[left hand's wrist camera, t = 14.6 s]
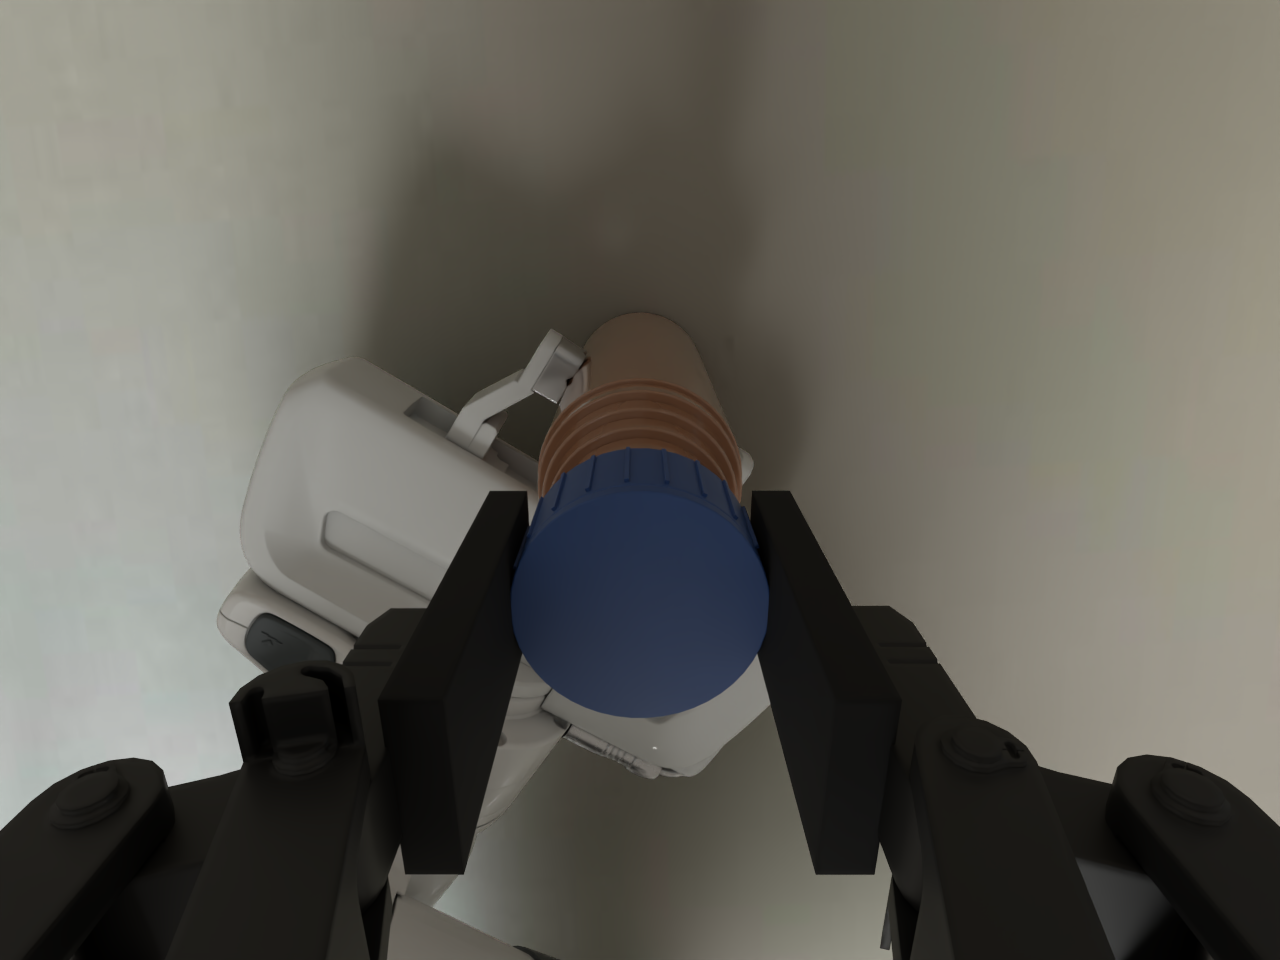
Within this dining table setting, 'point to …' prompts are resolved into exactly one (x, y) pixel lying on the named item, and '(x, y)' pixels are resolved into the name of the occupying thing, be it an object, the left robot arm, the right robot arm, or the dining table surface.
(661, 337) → the bottle
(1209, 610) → the dining table surface
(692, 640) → the cap
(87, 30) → the dining table surface
